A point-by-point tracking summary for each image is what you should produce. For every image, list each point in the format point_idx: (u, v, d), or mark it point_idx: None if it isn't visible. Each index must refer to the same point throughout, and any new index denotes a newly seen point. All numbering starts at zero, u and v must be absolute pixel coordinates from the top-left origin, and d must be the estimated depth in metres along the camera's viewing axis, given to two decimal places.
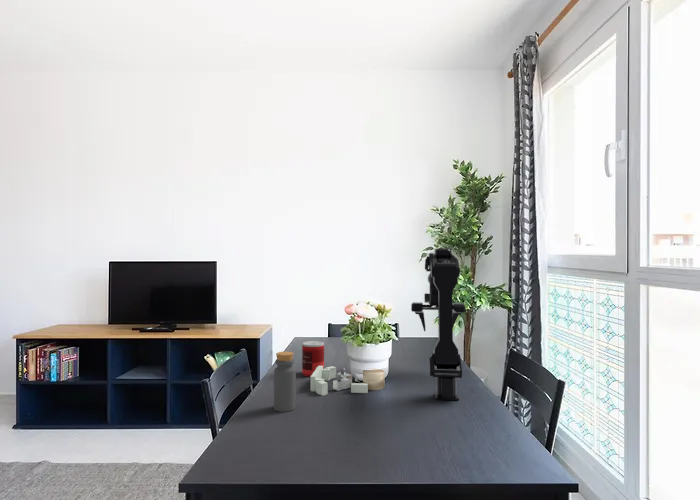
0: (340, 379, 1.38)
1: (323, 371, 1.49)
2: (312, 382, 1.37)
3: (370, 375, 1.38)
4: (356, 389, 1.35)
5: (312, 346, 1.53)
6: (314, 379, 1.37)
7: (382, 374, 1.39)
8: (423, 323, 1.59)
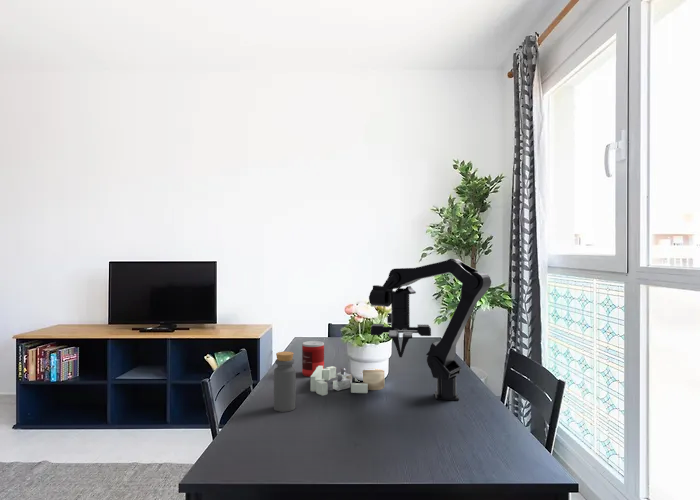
0: (340, 379, 1.38)
1: (323, 371, 1.49)
2: (312, 382, 1.37)
3: (370, 375, 1.38)
4: (356, 389, 1.35)
5: (312, 346, 1.53)
6: (314, 379, 1.37)
7: (382, 374, 1.39)
8: (398, 348, 1.39)
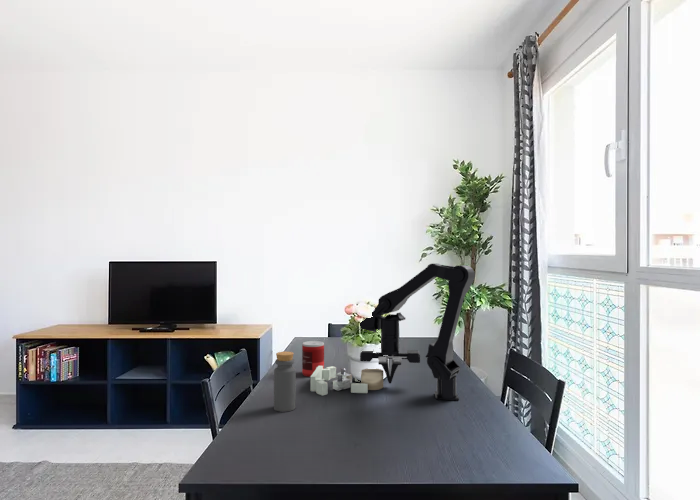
0: (340, 379, 1.38)
1: (323, 371, 1.49)
2: (312, 382, 1.37)
3: (369, 375, 1.38)
4: (356, 389, 1.35)
5: (312, 346, 1.53)
6: (314, 379, 1.37)
7: (381, 374, 1.39)
8: (387, 374, 1.40)
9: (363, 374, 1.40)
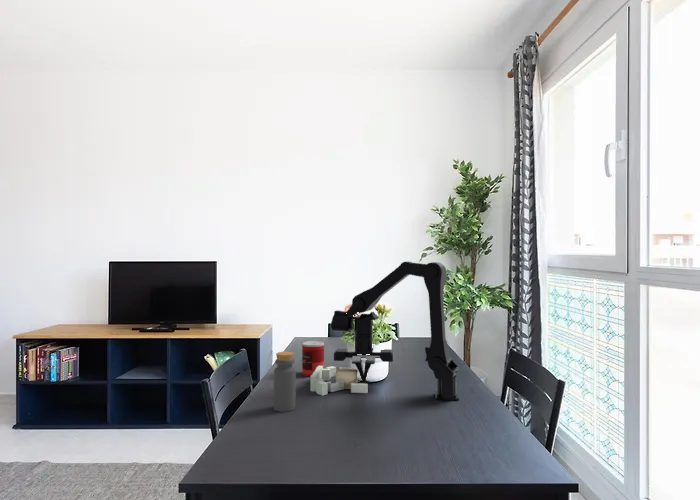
0: (334, 380, 1.36)
1: (323, 371, 1.49)
2: (312, 382, 1.37)
3: (342, 374, 1.39)
4: (356, 389, 1.35)
5: (312, 346, 1.53)
6: (314, 379, 1.37)
7: (355, 373, 1.40)
8: (361, 374, 1.40)
9: (337, 373, 1.41)
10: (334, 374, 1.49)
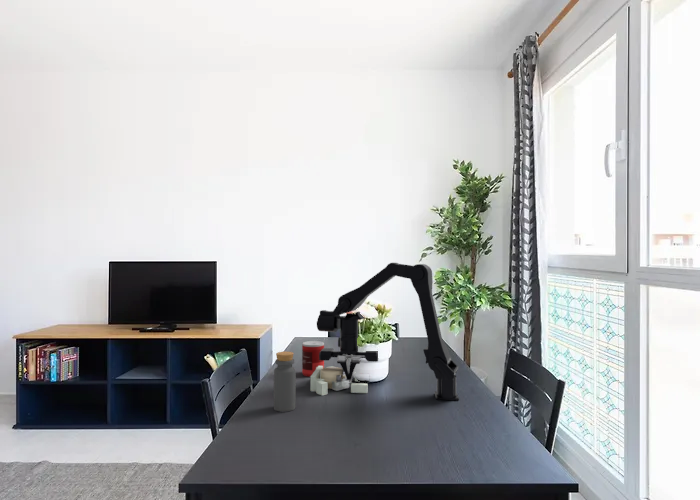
0: (339, 379, 1.37)
1: None
2: (312, 382, 1.37)
3: (327, 373, 1.40)
4: (356, 389, 1.35)
5: (312, 346, 1.53)
6: (314, 379, 1.37)
7: (339, 372, 1.41)
8: (346, 373, 1.41)
9: (322, 373, 1.41)
10: None
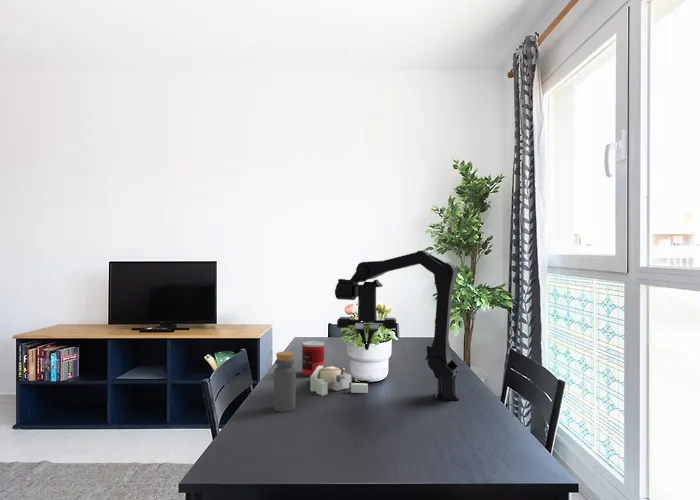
0: (339, 379, 1.37)
1: None
2: (312, 382, 1.37)
3: (325, 374, 1.40)
4: (356, 389, 1.35)
5: (312, 346, 1.53)
6: (314, 379, 1.37)
7: (338, 373, 1.41)
8: (364, 341, 1.41)
9: (320, 373, 1.41)
10: None
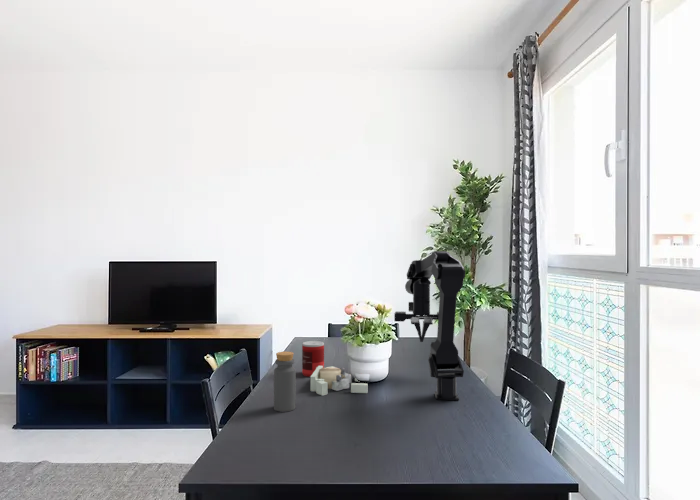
0: (339, 379, 1.37)
1: None
2: (312, 382, 1.37)
3: (325, 374, 1.40)
4: (356, 389, 1.35)
5: (312, 346, 1.53)
6: (314, 379, 1.37)
7: (338, 373, 1.41)
8: (419, 333, 1.52)
9: (320, 373, 1.41)
10: None
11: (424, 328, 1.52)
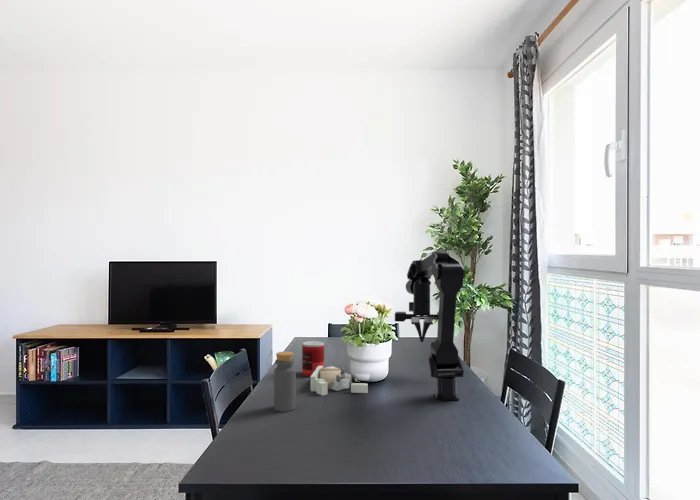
0: (339, 379, 1.37)
1: None
2: (312, 382, 1.37)
3: (325, 374, 1.40)
4: (356, 389, 1.35)
5: (312, 346, 1.53)
6: (314, 379, 1.37)
7: (338, 373, 1.41)
8: (419, 333, 1.52)
9: (320, 373, 1.41)
10: None
11: (424, 328, 1.52)
